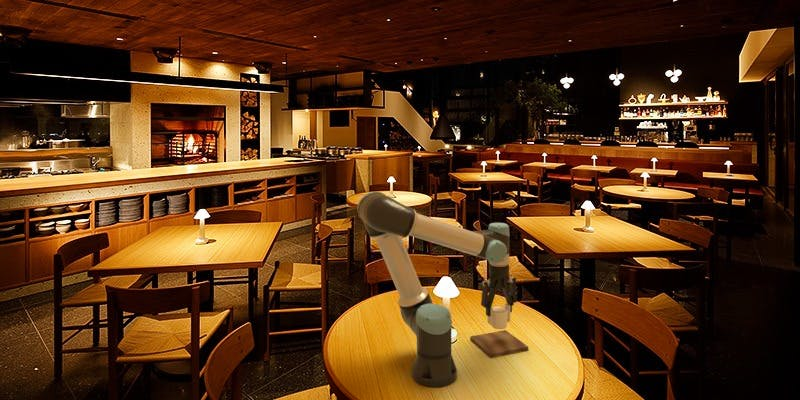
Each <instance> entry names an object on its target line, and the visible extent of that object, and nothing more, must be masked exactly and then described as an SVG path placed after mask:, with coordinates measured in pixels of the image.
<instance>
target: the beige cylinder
mask: <svg viewBox="0 0 800 400" xmlns="http://www.w3.org/2000/svg"><path fill="white" fill-rule="evenodd" d="M491 307H492V308H493V325H491V326H492V328H493V329H495V330H505V329H506V328H507V327H508V321H507V319H508V308H507V307H505V305H504V306H503V305H492V306H491Z"/></svg>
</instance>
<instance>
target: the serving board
mask: <svg viewBox="0 0 800 400" xmlns="http://www.w3.org/2000/svg"><path fill="white" fill-rule="evenodd" d="M469 340H470V341H471V342H472V343H473V344H475V346H477V348H479V349H480V350H481V351H482V352H483V353H485V354H486V355H487V356H488V357H489V358H490V359H492V358H496V357H497V358H498V357H502V356H503V357H504V356H507V355H512V354H518V353H522V352H526V351H529V345H527V344H526V343H524V342H523V341H521V340H520V339H519V338H517V337H516V336H515V335H513V334H511V333H510V332H509V331H508V330H505V329H502V330H499V331H494V332H493V331H492V332H487V333H481V334H477V335H476V334H475V335H472V336H471V335H470V336H469Z"/></svg>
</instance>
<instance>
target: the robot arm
mask: <svg viewBox="0 0 800 400" xmlns="http://www.w3.org/2000/svg"><path fill="white" fill-rule="evenodd" d="M356 208H357V209H356V210H357V211H356V212H357V215H358V218H359V219H360V220H361V221H362V222H363V224H364V227H365V228H366V231H367V234H368V236H369V238H372V239H375V241H376V243H377V245H378V249H379V250H380V254H381V255H382V258H383V260H384V262H385V265H386V268H387V270H388V272H389V274H390V277H391V279H392V281H393V284H394V286H395V288H396V291H397V293H398V295H399V298H398V301H397V304H398V306H399V308H400V315H401V318H402V320H403V322H404V323H405V324H406V325H407V326H408V327H409V329H410V330H412V333H413V334H414V335H415V336H416V356H415V360H414V361H413V365H412V367H411V374H412V379H413V381H414V382H416V383H417V384H419V385H422V386H426V387H428V388H429V387H430V388H441V387H446V386H449V385H452V384H453V383H454V382H455V381H456V380H457V378H458V377H457V376H458V369H457V367H456V364H455V359H454V358H453V355H452V324H453V321H452V316H451V311H450V310H449V309H448V308H447V307H446V306H445V305H440V304H438V303H434V302H433V300H432V297H431V295H430V293H429V291H428V289H427V288H425V287H422V285H421V281H420V280H419V278H418V275H417V271H416V269H415V268H414V265H413V262H412V260H411V257H410V255H409V252H408V250H407V246H406V245H405V243H404V240H403V238H408V237H409V236H410V237H414V238H416V239H420V240H423V241H427V242H429V243H432V244H435V245H439V246H442V247H446V248H449V249H452V250H455V251H459V252H461V253H463V254H464V253H465V254H469V255H472V256H475V257H478V258H480V259H484V260H486V261H488V275H489V277H488V279H486V280H481V284H482V289H481V299H480V305H481V307H483V308H485V315H486V316H487V324H489V325H490V326H492V325H493V308H492V307H493V302H494V300H495V296H496V293H497V292H498V290H499V289H502V293H503V295H504V298H505V301H506V303H504V307H507V308H508V319H507V323H511V313H513V306H514V305H515V304H516V303H517V302H518V300H517V287H516V281H517V278H516V277H514V276H513V275H512V276H510V275H509V274H510V265H509V264H510V237H511V236H510V226H509V225H508V224H507V223H505V222H491V223H489V224H488V229H484V230H475V231H474V230H473V231H472V230H468V229H465V228H462V227H459V226H456V225H453V224H451V223H447V222H445V221H442V220H439V219H435V218H433V217H429V216H426V215H423V214H420V213H418V212H417V211H416V210H415V208H413V207H409V206H407V205H405V204H402V203H400V202H398V201H397V200H396V199H394V198H392V197H390V196H388V195H386V194H385V193H382V192H380V191H370V192H368V193H365V194H364V195H363V196H362V197H361V198H360V199H359V201H358V204H357V207H356ZM508 285H509V286H508ZM514 303H515V304H514Z"/></svg>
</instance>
